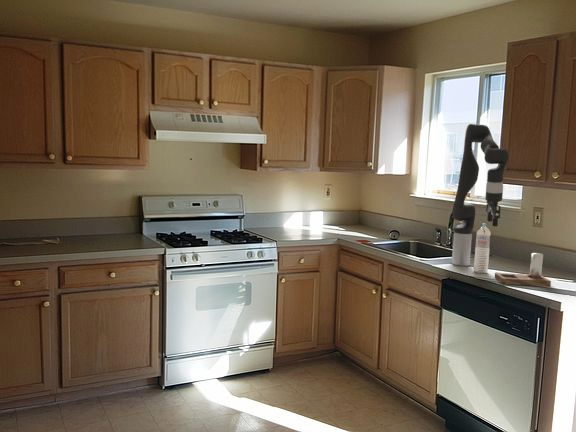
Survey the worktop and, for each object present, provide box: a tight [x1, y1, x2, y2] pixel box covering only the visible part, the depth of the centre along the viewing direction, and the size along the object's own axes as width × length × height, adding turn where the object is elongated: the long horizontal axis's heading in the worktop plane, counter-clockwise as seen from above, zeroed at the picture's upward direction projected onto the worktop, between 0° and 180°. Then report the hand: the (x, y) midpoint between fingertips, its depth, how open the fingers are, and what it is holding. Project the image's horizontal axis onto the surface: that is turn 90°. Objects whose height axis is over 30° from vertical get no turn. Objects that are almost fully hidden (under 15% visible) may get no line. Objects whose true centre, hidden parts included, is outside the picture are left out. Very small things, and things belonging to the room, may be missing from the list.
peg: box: [529, 252, 544, 279], centre depth 262 cm, size 5×5×14 cm
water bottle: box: [473, 223, 492, 275], centre depth 279 cm, size 7×7×25 cm
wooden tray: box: [494, 272, 552, 287], centre depth 263 cm, size 12×22×3 cm, turn 85°
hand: (492, 223), depth 265 cm, fingers open, 8 cm apart
